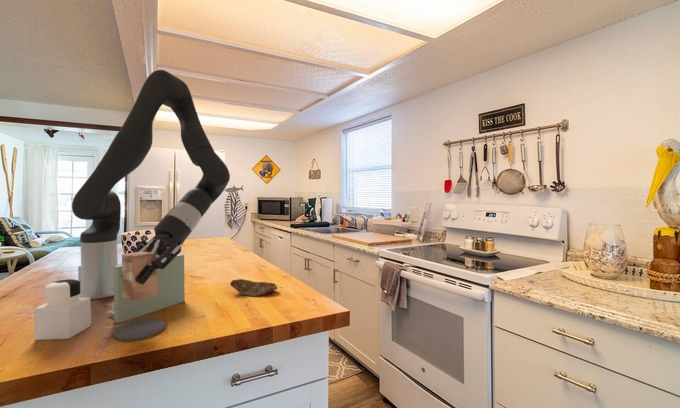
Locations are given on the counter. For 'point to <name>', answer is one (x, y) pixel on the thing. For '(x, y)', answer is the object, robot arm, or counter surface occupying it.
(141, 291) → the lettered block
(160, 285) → the screen
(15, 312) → the counter surface
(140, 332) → the mat
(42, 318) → the white stepped block
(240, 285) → the decorative stone
